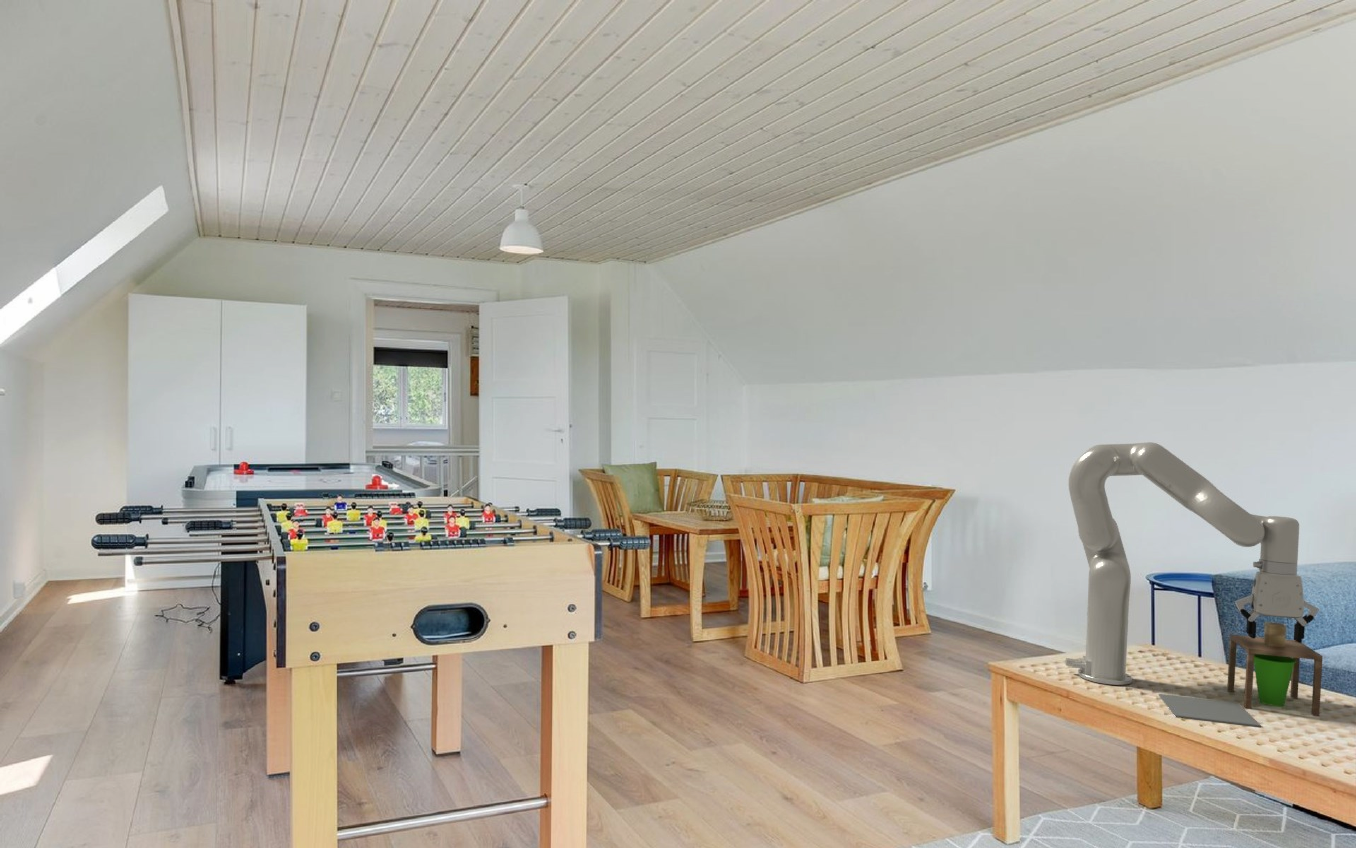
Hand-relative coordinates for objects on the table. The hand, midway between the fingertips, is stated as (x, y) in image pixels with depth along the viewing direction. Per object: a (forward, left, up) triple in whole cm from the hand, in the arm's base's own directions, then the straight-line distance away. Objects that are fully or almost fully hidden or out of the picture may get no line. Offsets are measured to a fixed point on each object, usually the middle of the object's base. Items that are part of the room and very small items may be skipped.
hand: (1274, 639), depth 222 cm
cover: (0, 0, -15) cm, 15 cm away
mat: (-17, -13, -15) cm, 27 cm away
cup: (0, 0, -16) cm, 16 cm away
